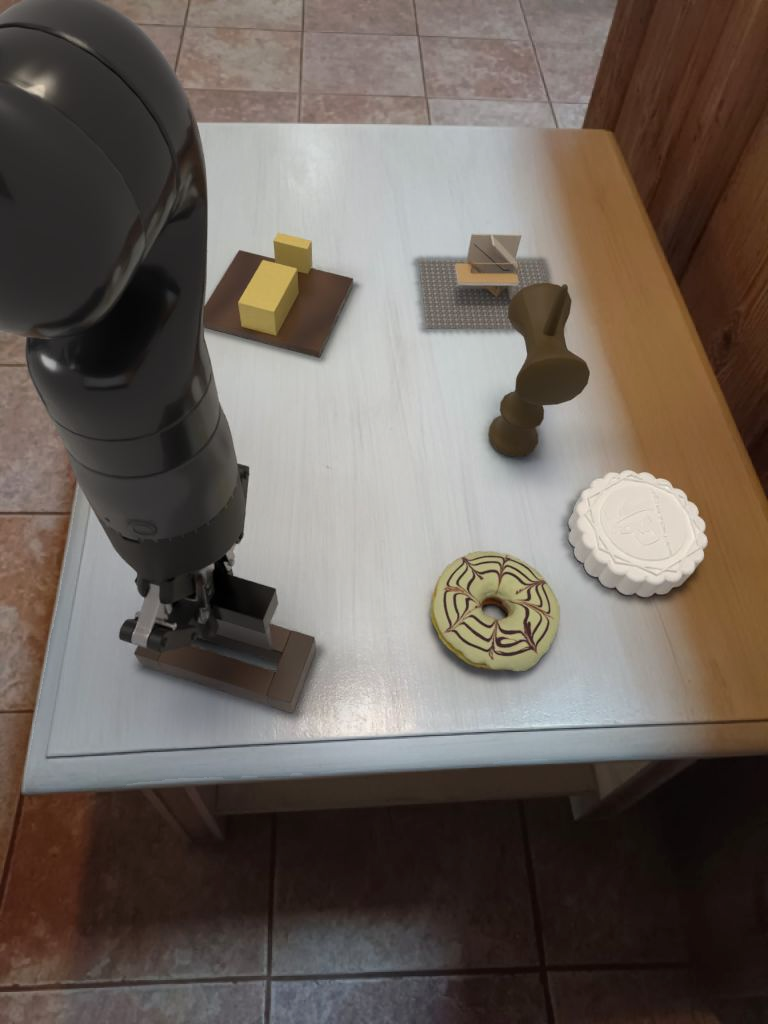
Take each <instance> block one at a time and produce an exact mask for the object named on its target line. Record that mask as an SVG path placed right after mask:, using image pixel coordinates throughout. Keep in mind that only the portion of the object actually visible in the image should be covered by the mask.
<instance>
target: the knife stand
mask: <svg viewBox="0 0 768 1024" xmlns="http://www.w3.org/2000/svg"><path fill="white" fill-rule="evenodd" d="M165 613H167V614H168V615H169V613H168V611H167V609H166V607H165ZM269 628H270V633H271V638H272V643H273V647H272V649H271V651H270V650H266V649H263V648H260V647H257V646H254V645H250V644H247V643H244V642H241V641H237V640H234V639H231V638H228V637H225V636H221V635H218V634H216V635H215V636H208V637H207V639H201V638H198V637H197V638H196V639H200V640H202V641H206V642H209V643H213V644H216V645H219V646H221V647H222V646H223V647H226V648H229V649H232V650H235V651H239V652H241V653H245V654H248V655H252V656H255V657H258V658H261V659H265V660H267V661H271V662H274V663H278V664H277V666H276V669H275V670H272V669H269V668H266V667H263V666H260V665H257V664H253V663H250V662H247V661H244V660H240V659H238V658H234V657H231V656H229V655H224V654H222V653H218V652H215V651H211V650H209V649H205V648H202V647H199V646H195V645H193V644H192V645H191V646H187V647H183V648H178V649H174V650H170V651H166V652H162V653H160V652H157V651H154V650H151V649H147V648H144V647H141V646H138V645H136V646H137V647H136V649H135V650H134V652H133V654H134V656H135V657H136V659H137V660H138V662H139V664H140V665H141V666H142V667H143V668H147V669H149V670H153V671H156V672H159V673H163V674H164V675H165V674H166V675H168V676H171V677H175V678H178V679H181V680H185V681H188V682H191V683H193V684H197V685H200V686H203V687H207V688H209V689H213V690H216V691H219V692H223V693H225V694H228V695H233V696H234V697H235V696H236V697H238V698H242V699H245V700H248V701H251V702H253V703H257V704H261V705H264V706H267V707H271V708H272V709H276V710H280V711H282V712H286V713H289V714H294V711H295V708H296V706H297V703H298V700H299V697H300V695H301V692H302V689H303V686H304V684H305V681H306V678H307V676H308V673H309V670H310V668H311V665H312V662H313V659H314V656H315V653H316V649H317V648H316V637H315V636H312V635H309V634H305V633H303V632H300V631H296V630H293V629H292V630H291V629H289V628H286V627H283V626H279V625H275V624H272V623H270V625H269Z"/></svg>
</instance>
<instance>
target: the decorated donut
mask: <svg viewBox="0 0 768 1024" xmlns="http://www.w3.org/2000/svg"><path fill="white" fill-rule="evenodd" d="M430 604H431V605H430V617H431V622H432V625H433V627H434V629H435V630H436V632H437V635H438V638H439V639H440V640H441V642H442V643H443V644H444V646H445V647H447V648H448V650H450V651H451V652H452V654H454V655H455V656H456V657H457V658H459V659H460V660H462V661H463V662H465V663H466V664H468V665H471V666H472V667H475V668H479V669H482V670H490V671H506V670H507V671H514V672H525V671H528V670H529V669H531V668H532V667H534V666H535V665H536V664H537V663H538V662H539V661H540V660H541V658H542V657H543V656H544V655H545V654H546V653H547V652H548V651H549V649H550V647H551V645H552V644H553V641H554V640H555V638H556V635H557V633H558V630H559V624H560V620H561V608H560V607H561V606H560V604H559V600H558V599H557V595H556V594H555V592H554V591H553V589H552V588H551V586H550V584H549V583H548V582H547V581H546V580H545V578H544V577H543V576H542V574H540V573H539V571H537V570H536V569H535V568H534V567H533V566H531V565H529V564H528V563H526V562H525V561H523V560H522V559H520V558H517V557H515V556H513V555H510V554H507V553H501V552H497V551H490V550H487V551H486V550H485V551H484V550H483V551H482V550H479V551H478V550H477V551H473V552H469V553H468V554H466V555H463V556H461V557H458V558H456V559H455V560H453V561H452V562H451V563H449V564H447V565H446V567H445V568H444V570H443V571H442V572H441V574H440V575H439V577H438V579H437V582H436V583H435V587H434V591H433V594H432V597H431V602H430ZM489 604H492V605H496V606H499V607H500V608H502V609H503V611H504V612H505V614H506V617H503V618H499V619H496V618H494V617H493V616H489V615H486V614H485V613H484V611H483V607H484V605H489Z"/></svg>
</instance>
